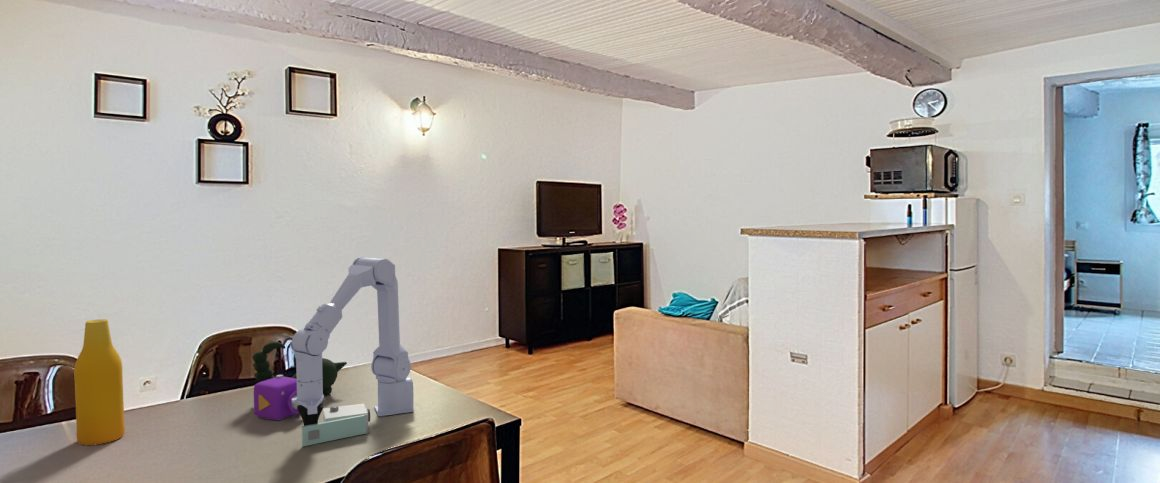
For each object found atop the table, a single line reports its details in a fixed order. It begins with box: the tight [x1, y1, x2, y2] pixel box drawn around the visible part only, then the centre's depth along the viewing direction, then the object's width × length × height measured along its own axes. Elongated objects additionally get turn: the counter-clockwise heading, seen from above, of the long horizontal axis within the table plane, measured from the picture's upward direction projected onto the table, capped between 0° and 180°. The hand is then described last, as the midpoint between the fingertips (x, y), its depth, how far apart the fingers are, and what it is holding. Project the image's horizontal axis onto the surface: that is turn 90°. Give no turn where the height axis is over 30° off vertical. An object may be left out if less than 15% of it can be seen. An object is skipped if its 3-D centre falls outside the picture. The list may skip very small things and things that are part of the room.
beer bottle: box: [73, 318, 126, 446], centre depth 148 cm, size 9×9×29 cm
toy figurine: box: [252, 341, 348, 396], centre depth 181 cm, size 9×19×25 cm
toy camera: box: [253, 374, 300, 421], centre depth 167 cm, size 11×14×10 cm
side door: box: [301, 414, 369, 447], centre depth 150 cm, size 15×1×5 cm, turn 125°
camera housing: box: [322, 402, 371, 423], centre depth 157 cm, size 11×8×6 cm
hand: (310, 434), depth 149 cm, fingers closed
